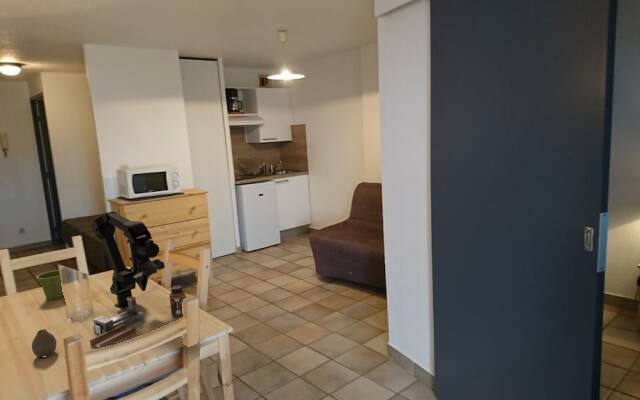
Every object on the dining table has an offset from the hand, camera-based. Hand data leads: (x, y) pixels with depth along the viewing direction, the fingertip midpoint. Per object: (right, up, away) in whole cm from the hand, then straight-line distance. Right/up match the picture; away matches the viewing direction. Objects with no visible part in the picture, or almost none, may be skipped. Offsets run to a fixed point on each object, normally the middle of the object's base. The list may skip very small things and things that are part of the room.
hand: (143, 290), depth 167 cm
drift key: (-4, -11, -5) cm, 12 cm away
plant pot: (-51, -8, +24) cm, 57 cm away
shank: (-8, -12, -12) cm, 19 cm away
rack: (-2, -13, -20) cm, 24 cm away
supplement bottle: (+15, -9, -2) cm, 18 cm away
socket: (-6, -11, -9) cm, 15 cm away
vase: (-21, -16, -28) cm, 38 cm away
